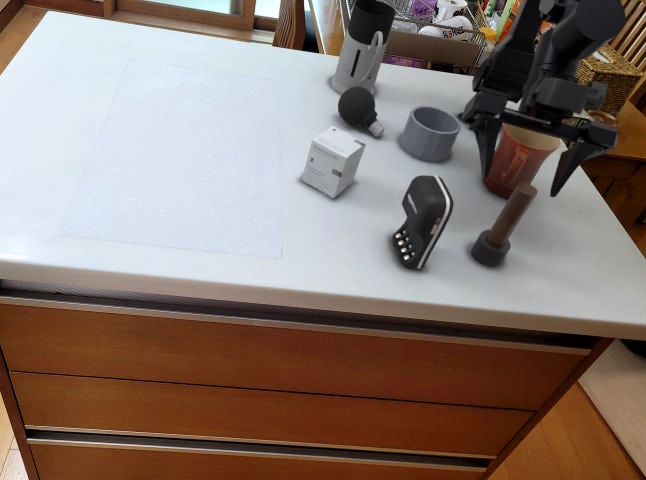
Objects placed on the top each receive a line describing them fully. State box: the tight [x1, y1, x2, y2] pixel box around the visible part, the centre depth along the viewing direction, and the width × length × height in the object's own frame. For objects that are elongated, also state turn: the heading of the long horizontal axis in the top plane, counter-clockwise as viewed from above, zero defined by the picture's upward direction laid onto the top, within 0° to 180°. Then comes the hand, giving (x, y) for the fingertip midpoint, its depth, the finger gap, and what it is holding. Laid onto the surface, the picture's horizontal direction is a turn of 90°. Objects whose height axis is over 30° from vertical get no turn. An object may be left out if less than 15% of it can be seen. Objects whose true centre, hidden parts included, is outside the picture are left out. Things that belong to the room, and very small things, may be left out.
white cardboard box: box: [301, 125, 367, 199], centre depth 81 cm, size 6×6×7 cm
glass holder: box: [330, 0, 397, 96], centre depth 100 cm, size 9×14×15 cm, turn 2°
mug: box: [481, 123, 561, 199], centre depth 86 cm, size 12×9×10 cm
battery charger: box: [391, 174, 454, 269], centre depth 71 cm, size 7×4×11 cm, turn 7°
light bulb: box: [337, 87, 386, 138], centre depth 95 cm, size 6×6×10 cm
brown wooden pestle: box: [470, 183, 538, 268], centre depth 73 cm, size 4×4×12 cm
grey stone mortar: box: [399, 105, 462, 163], centre depth 94 cm, size 9×9×6 cm
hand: (518, 187), depth 73 cm, fingers open, 9 cm apart
